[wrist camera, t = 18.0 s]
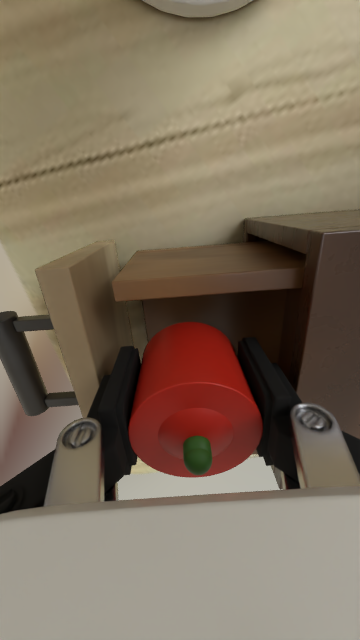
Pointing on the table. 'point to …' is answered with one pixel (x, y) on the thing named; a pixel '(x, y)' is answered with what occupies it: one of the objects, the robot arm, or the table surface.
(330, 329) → the cabinet
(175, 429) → the pepper
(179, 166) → the table surface
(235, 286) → the drawer
